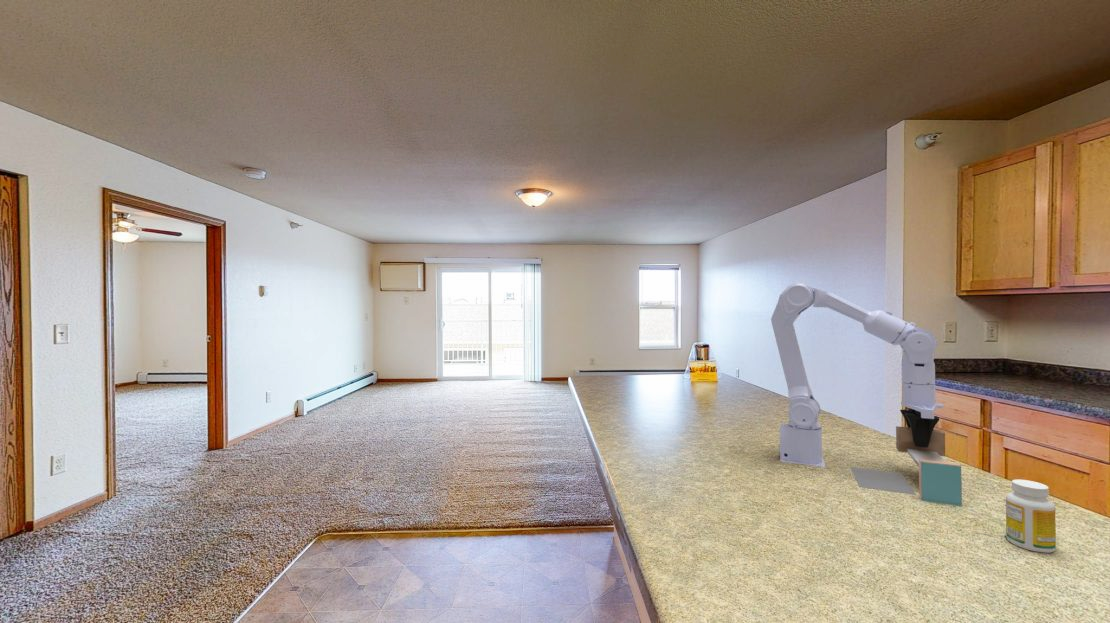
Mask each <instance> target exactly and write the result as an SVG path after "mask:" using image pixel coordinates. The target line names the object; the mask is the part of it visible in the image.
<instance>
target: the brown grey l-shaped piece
mask: <svg viewBox="0 0 1110 623" xmlns="http://www.w3.org/2000/svg"><path fill="white" fill-rule="evenodd" d="M895 436H896V437H895V441H896V442H895V445H896V446H895V447H896V450H897V451H898V452H899V453H900V452H901V453H907V454H908V455H909V457H910V458H911V459H912V460H913V462H914V463H915V464H916V466H917V467H918V468H919V459H922V460H932V461H941V462H947V461H946V460H945V459H944V458H943V457H946V433H945V432H944V431H943V430H942V429H933V431H932V434H931V438H930V442H929V445H928V448H926V447H916V446H915V444H914V440H913V435H912V430H911V427H907V426H900V425H899V426H895Z"/></svg>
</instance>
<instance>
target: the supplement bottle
mask: <svg viewBox="0 0 1110 623" xmlns="http://www.w3.org/2000/svg"><path fill="white" fill-rule="evenodd" d="M1049 489H1050V488H1049V486H1048V485H1046V484H1043V483H1041V482H1037V481H1032V480H1028V479H1021V478H1019V479H1012V480H1011V490H1012V491H1010V492H1008V493H1007V494H1006V496H1005V536H1006V539H1007V540H1008V541H1009V542H1010V544H1013V545H1015V546H1017V547H1018V548H1022V549H1024V550H1028V551H1032V552H1036V553H1045V554H1048V553H1054V552H1055V551H1056V548H1057V544H1056V543H1057V542H1056V540H1057V539H1056V538H1057V536H1056V531H1057V530H1056V528H1057V527H1056V505H1055V503H1053V501H1052V500H1050V499H1049V498H1048V497H1049V495H1050V490H1049Z"/></svg>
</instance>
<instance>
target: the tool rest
mask: <svg viewBox="0 0 1110 623" xmlns="http://www.w3.org/2000/svg"><path fill="white" fill-rule="evenodd" d="M850 469H851V471H852V474H853V475H854V479H855V481H856V483H857V486H858V488H862V489H863V488H864V489H871V490H878V491H887V492H893V493H900V494H907V495H915V496H917V494H916V492H915V491H914V489H913V488H912V487H911V485H910V484H909V482H908V481H907V479H906V478H905V476H904V475H903V473H901V472H895V471H887V470H880V469H872V468H871V469H869V468H861V467H853V466H850Z"/></svg>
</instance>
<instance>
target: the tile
mask: <svg viewBox="0 0 1110 623" xmlns="http://www.w3.org/2000/svg"><path fill="white" fill-rule="evenodd" d="M962 483H963V481H962V465H961V464H960V463H959V462H948V461H946V462H941V461H932V460H922V459H919V467H918V486H919V487H918V490H919V491H918V494H919V499H920V500H921V501H925V502H933V503H938V504H939V503H940V504H946V505H952V506H961V507H962V506H963V491H962V489H963V486H962Z"/></svg>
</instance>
